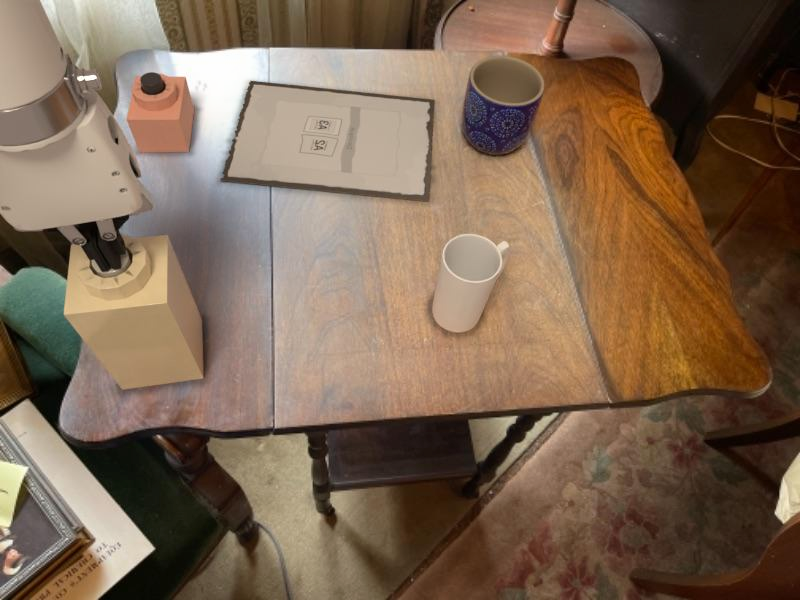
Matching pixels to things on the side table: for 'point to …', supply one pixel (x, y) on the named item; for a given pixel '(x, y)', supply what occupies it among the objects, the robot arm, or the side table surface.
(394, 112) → the picture frame
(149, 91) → the black push button
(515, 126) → the planter
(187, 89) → the orange push button box
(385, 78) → the side table surface
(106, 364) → the tan box with knob
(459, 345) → the side table surface
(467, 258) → the mug
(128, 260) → the grey push button
